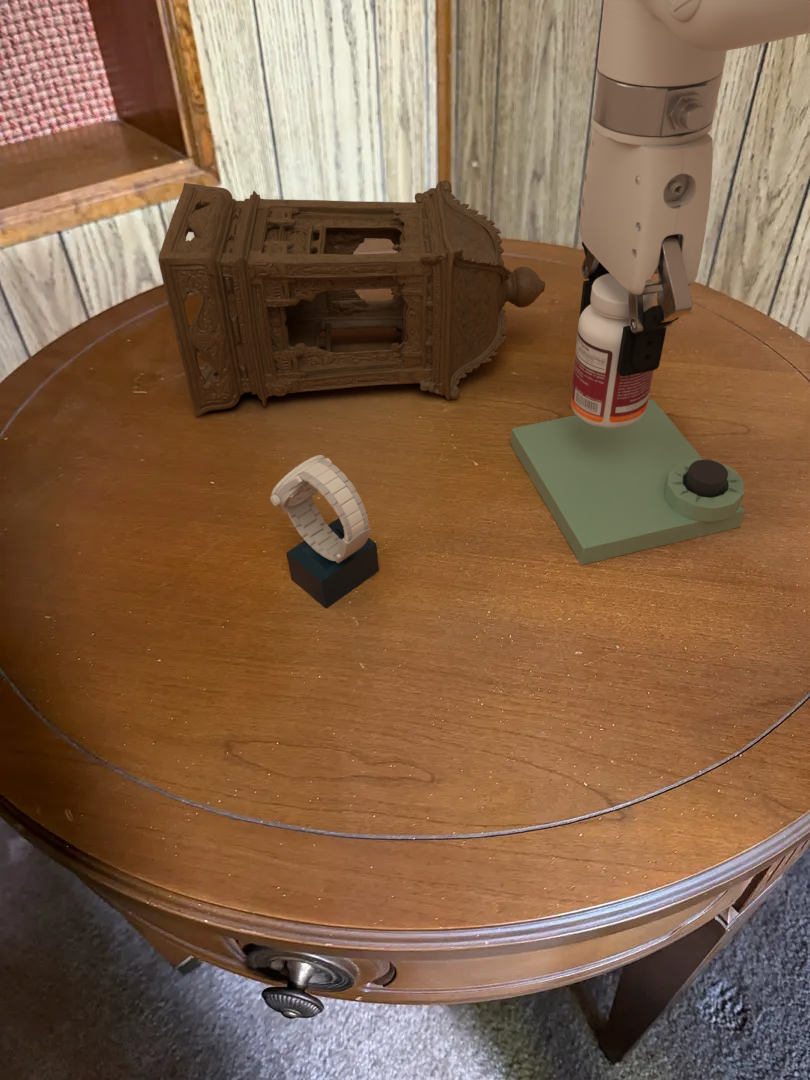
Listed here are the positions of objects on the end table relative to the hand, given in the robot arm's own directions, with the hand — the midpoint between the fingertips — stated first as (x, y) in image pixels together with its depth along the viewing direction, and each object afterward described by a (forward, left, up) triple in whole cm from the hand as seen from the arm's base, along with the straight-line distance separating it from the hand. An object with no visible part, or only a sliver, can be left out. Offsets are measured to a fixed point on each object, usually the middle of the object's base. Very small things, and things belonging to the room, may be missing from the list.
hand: (617, 345), depth 66 cm
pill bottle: (0, 0, -6) cm, 6 cm away
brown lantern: (+23, +15, -13) cm, 30 cm away
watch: (-5, +25, -13) cm, 29 cm away
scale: (-2, -1, -13) cm, 13 cm away
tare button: (-8, -5, -10) cm, 14 cm away
